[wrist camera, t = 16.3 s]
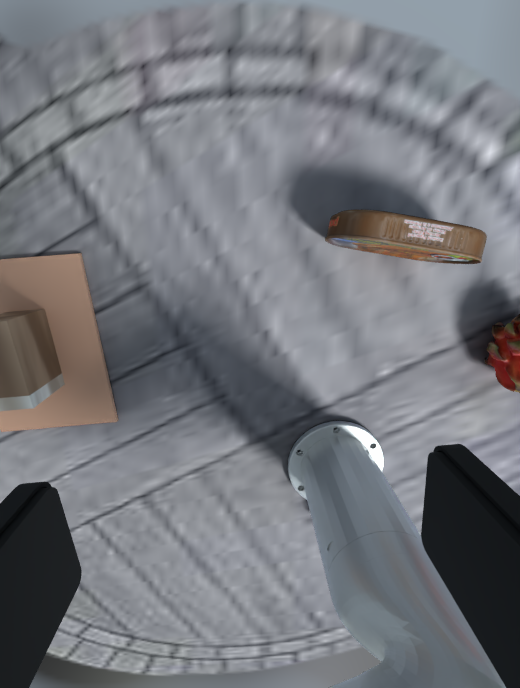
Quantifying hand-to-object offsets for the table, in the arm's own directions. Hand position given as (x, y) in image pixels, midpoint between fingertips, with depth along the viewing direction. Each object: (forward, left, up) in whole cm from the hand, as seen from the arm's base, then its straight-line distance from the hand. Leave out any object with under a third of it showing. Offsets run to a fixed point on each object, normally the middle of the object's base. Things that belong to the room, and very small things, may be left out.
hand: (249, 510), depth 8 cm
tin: (+6, -16, -31) cm, 35 cm away
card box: (-3, +24, -30) cm, 38 cm away
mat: (-3, +24, -30) cm, 39 cm away
